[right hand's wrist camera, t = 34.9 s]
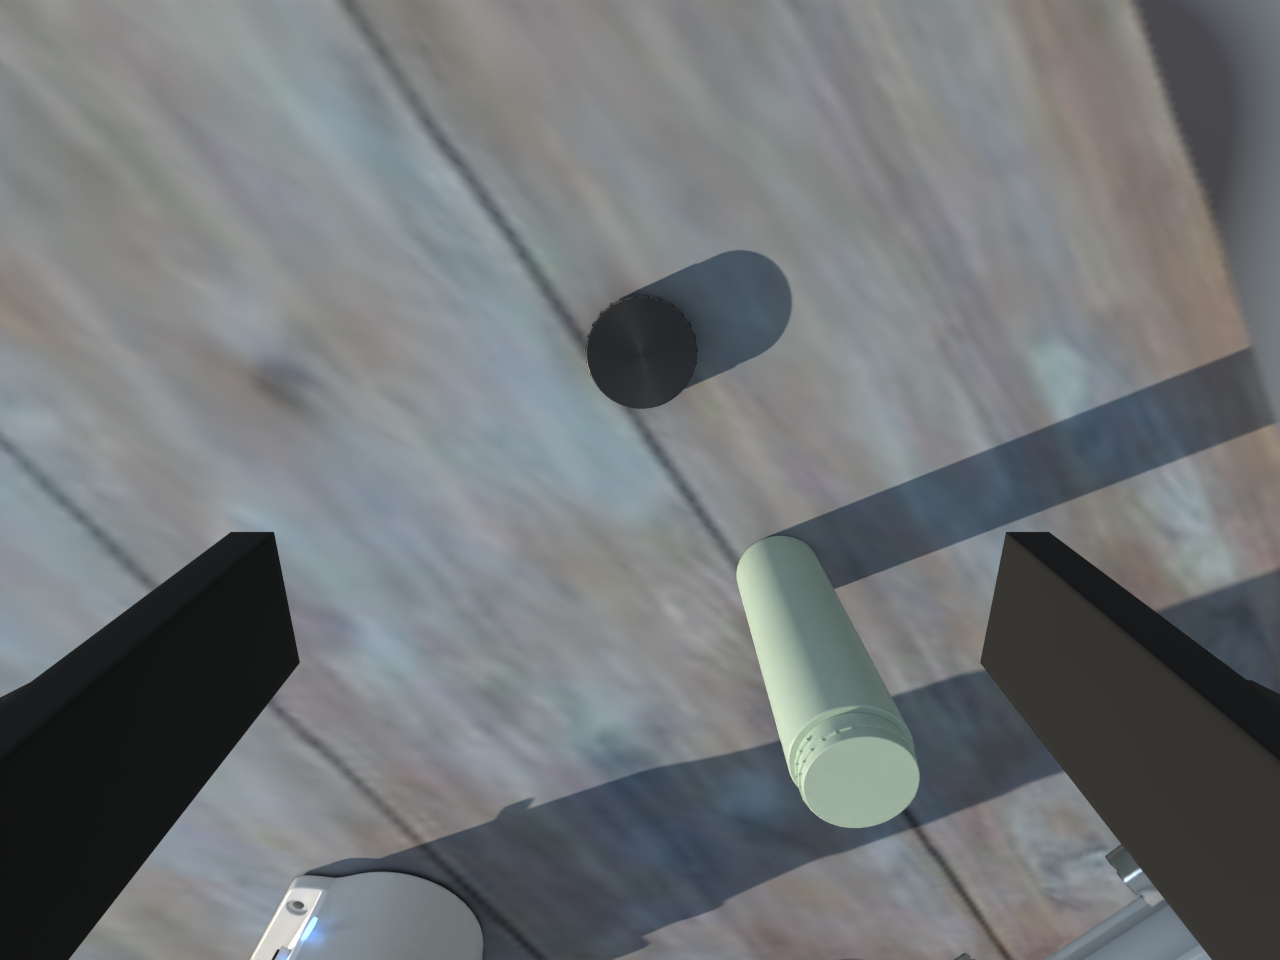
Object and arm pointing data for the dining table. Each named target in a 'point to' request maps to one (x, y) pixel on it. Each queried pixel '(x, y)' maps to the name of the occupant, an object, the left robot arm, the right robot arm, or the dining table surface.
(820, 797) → the bottle
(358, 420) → the dining table surface
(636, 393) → the lid
